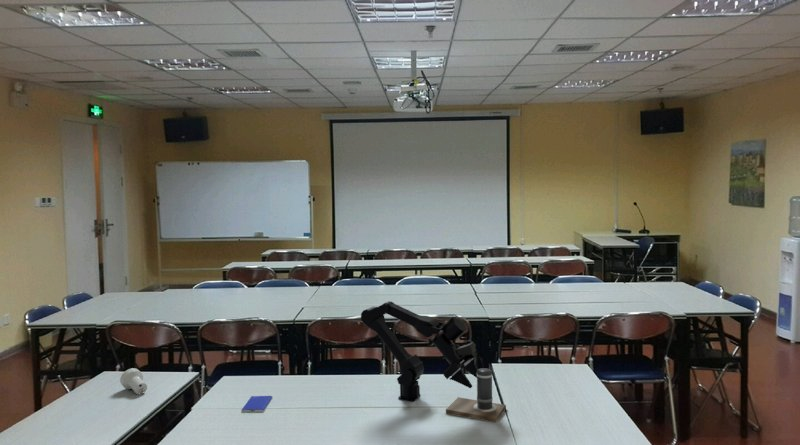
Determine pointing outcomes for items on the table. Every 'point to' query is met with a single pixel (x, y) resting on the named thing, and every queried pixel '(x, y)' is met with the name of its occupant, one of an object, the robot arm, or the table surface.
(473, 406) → the mount board
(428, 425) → the table surface
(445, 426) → the table surface
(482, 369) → the dark grey cylinder
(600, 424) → the table surface
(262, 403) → the blue book
